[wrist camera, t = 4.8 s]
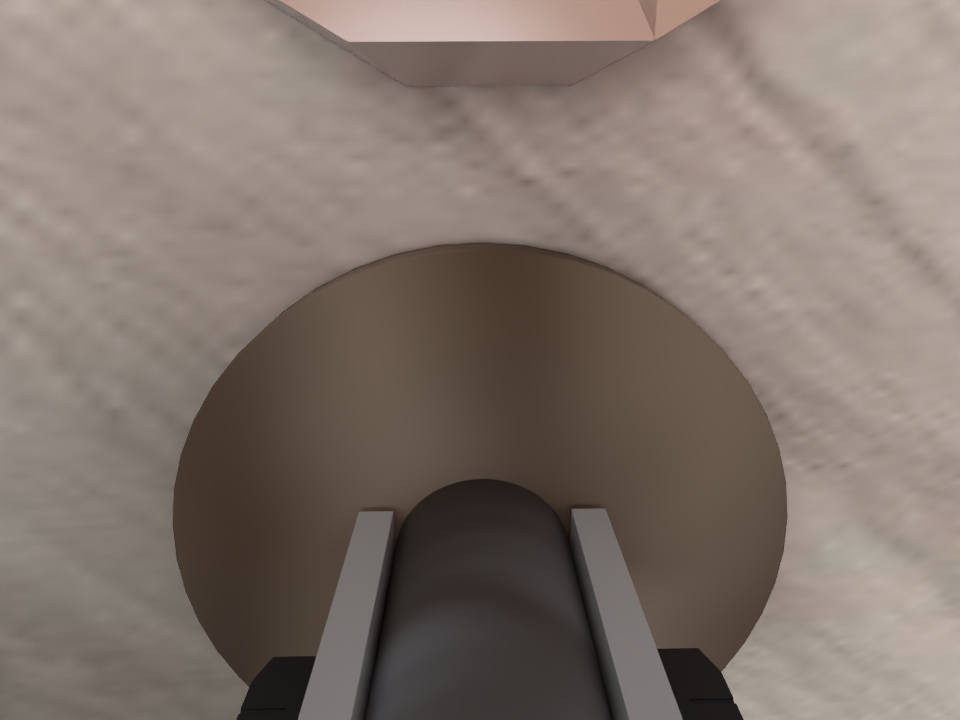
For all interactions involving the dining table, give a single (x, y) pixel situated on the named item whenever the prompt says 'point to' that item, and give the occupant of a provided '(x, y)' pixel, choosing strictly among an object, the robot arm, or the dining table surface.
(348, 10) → the bowl
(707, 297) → the dining table surface
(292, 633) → the lid
